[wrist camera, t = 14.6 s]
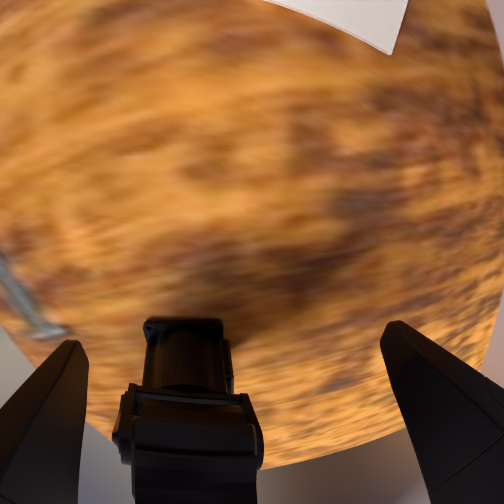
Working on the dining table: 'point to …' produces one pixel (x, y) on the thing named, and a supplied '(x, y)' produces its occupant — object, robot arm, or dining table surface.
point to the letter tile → (356, 18)
